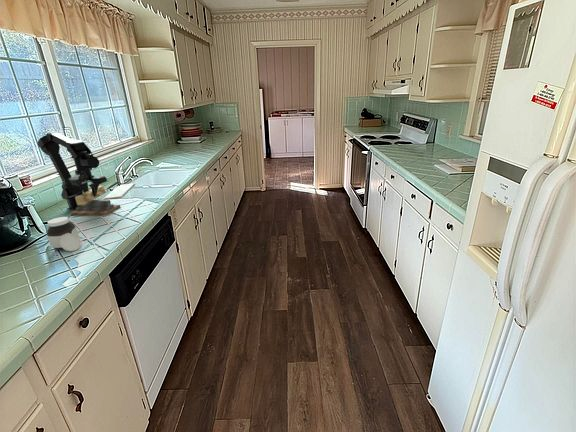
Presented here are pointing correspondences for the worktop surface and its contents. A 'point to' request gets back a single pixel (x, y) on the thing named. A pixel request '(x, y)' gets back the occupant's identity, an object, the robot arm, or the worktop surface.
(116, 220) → the worktop surface
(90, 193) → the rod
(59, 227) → the spread jar
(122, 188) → the baseboard molding
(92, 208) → the ridge stand
